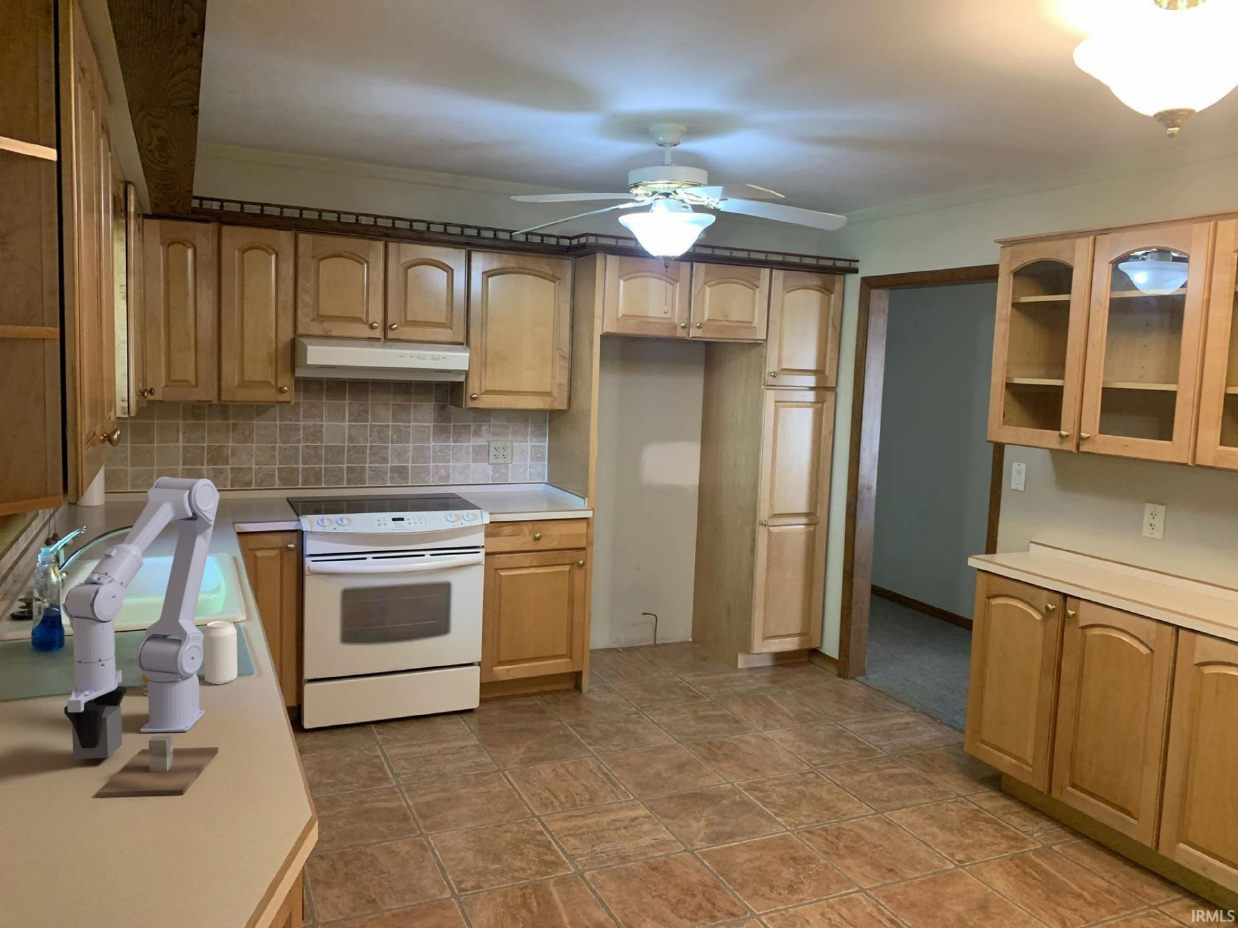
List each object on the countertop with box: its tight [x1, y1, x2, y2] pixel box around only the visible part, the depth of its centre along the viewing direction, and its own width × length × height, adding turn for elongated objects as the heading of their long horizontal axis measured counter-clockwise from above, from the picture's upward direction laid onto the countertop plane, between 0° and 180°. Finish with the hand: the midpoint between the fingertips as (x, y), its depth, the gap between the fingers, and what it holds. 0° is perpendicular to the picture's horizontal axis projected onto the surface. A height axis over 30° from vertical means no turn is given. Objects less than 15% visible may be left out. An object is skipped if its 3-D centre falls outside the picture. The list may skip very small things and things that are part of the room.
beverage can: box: [203, 620, 238, 683], centre depth 187 cm, size 6×6×12 cm
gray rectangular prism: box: [71, 705, 123, 760], centre depth 148 cm, size 5×5×7 cm
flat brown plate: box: [97, 733, 219, 798], centre depth 143 cm, size 16×12×6 cm
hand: (97, 740), depth 148 cm, fingers closed on gray rectangular prism, 5 cm apart
